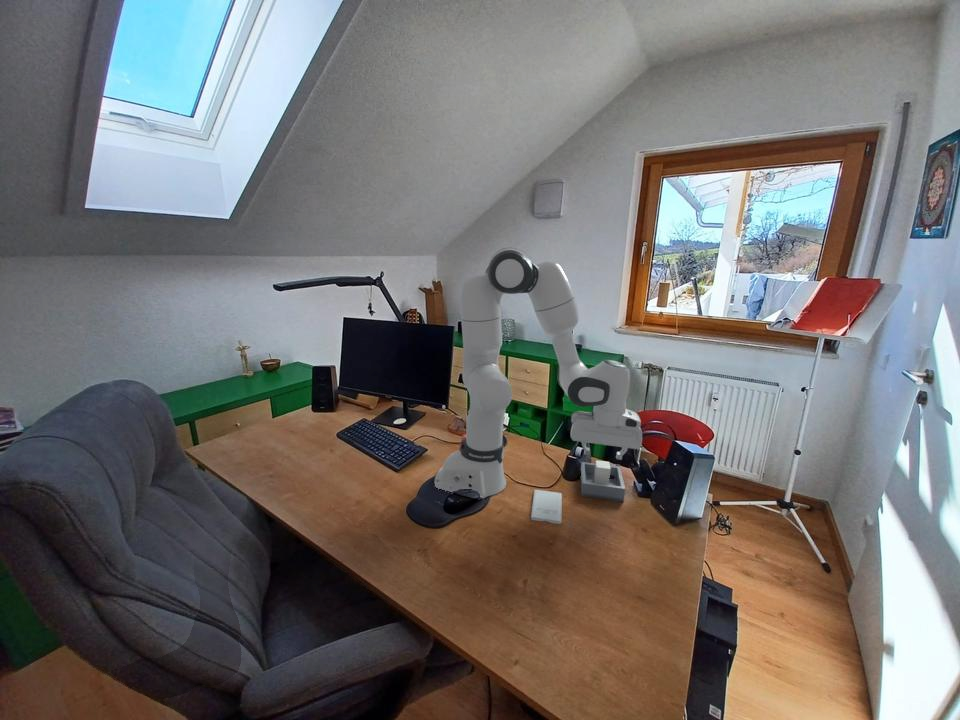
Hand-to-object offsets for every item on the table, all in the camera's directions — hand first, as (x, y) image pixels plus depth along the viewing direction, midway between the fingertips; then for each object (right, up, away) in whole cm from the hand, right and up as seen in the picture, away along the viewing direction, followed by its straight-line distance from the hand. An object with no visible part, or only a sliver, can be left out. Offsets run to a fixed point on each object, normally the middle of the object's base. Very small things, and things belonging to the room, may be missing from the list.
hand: (602, 456), depth 117 cm
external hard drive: (-18, -14, -6) cm, 23 cm away
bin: (0, -10, +3) cm, 11 cm away
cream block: (0, -9, +3) cm, 10 cm away
